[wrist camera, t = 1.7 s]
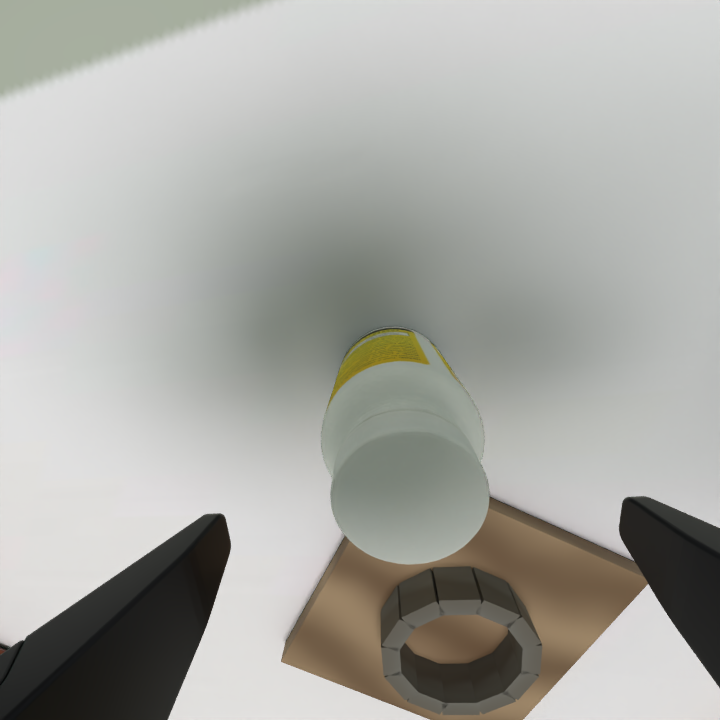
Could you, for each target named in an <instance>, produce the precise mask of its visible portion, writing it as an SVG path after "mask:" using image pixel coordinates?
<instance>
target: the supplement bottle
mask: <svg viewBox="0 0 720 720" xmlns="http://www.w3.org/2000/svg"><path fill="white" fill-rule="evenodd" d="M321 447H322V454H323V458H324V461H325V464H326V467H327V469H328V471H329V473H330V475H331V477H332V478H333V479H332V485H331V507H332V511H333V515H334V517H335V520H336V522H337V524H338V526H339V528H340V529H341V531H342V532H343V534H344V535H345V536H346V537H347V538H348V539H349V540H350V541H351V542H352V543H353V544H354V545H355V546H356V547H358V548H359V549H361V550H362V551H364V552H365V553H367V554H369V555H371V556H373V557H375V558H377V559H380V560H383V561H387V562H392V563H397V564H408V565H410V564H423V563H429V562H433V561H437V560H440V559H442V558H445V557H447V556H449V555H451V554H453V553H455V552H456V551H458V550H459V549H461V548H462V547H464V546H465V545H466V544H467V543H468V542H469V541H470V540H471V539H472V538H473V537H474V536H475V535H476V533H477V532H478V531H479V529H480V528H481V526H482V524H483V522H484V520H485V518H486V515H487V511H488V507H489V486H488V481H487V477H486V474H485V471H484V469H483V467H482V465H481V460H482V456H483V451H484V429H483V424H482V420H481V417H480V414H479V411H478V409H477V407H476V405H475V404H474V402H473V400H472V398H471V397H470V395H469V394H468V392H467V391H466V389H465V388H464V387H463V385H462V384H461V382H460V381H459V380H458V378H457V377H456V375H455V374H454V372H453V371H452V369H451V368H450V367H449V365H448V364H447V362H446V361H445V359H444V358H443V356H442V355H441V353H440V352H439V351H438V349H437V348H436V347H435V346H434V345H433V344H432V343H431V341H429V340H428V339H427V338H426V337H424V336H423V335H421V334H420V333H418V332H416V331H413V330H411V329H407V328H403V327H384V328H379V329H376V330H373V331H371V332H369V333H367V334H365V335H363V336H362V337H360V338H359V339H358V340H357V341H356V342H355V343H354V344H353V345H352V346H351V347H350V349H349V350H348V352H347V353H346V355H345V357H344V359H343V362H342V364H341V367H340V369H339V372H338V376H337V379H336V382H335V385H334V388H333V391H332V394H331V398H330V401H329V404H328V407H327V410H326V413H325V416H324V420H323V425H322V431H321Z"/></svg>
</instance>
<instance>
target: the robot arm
mask: <svg viewBox="0 0 720 720" xmlns="http://www.w3.org/2000/svg"><path fill="white" fill-rule="evenodd" d="M619 532H620V536H621V539H622V541H623V543H624V544H625V546H626V548H627V549H628V551H629V553H630V554H631V556H632V558H633V559H634V561H635V562H636V564H637V566H638V567H639V569H640V571H641V572H642V574H643V576H644V577H645V579H646V581H647V582H648V584H649V586H650V587H651V589H652V591H653V592H654V594H655V596H656V597H657V599H658V601H659V602H660V604H661V605H662V607H663V608H664V610H665V612H666V613H667V615H668V616H669V618H670V619H671V621H672V622H673V624H674V625H675V626H676V628H677V629H678V631H679V632H680V634H681V635H682V636H683V638H684V639H685V640H686V642H687V643H688V645H689V646H690V647H691V649H692V650H693V652H694V653H695V654H696V656H697V657H698V659H699V660H700V661H701V663H702V664H703V665H704V667H705V668H706V670H707V671H708V672H709V674H710V675H711V677H712V678H713V679H714V681H715V682H716V683H717V685H718V686H719V688H720V528H718V527H716V526H713V525H711V524H709V523H707V522H704V521H702V520H700V519H697V518H695V517H693V516H691V515H688V514H686V513H684V512H681V511H679V510H677V509H674V508H672V507H670V506H668V505H665V504H663V503H661V502H658V501H656V500H654V499H651V498H649V497H645V496H639V497H627V498H625V499H624V500H623V503H622V509H621V517H620V524H619ZM230 549H231V541H230V536H229V532H228V528H227V523H226V519H225V516H224V515H223V514H221V513H218V514H205V515H203V516H202V517H200V518H199V519H198V520H196V521H195V522H193V523H192V524H190V525H189V526H187V527H186V528H184V529H183V530H181V531H180V532H179V533H177V534H176V535H174V536H173V537H171V538H170V539H168V540H167V541H165V542H164V543H163V544H161V545H160V546H158V547H157V548H155V549H154V550H152V551H151V552H149V553H148V554H146V555H145V556H144V557H142V558H141V559H139V560H138V561H136V562H135V563H133V564H132V565H130V566H129V567H127V568H126V569H125V570H123V571H122V572H120V573H119V574H117V575H116V576H114V577H113V578H111V579H110V580H109V581H107V582H106V583H104V584H103V585H101V586H100V587H98V588H97V589H95V590H94V591H92V592H91V593H90V594H88V595H87V596H85V597H84V598H82V599H81V600H79V601H78V602H76V603H75V604H73V605H72V606H71V607H69V608H68V609H66V610H65V611H63V612H62V613H60V614H59V615H57V616H56V617H55V618H53V619H52V620H50V621H49V622H47V623H46V624H44V625H43V626H41V627H40V628H38V629H37V630H36V631H34V632H33V633H31V634H30V635H28V636H27V637H26V639H25V641H23V640H22V641H19V642H18V643H16V644H15V645H14V646H12V647H11V648H9V649H8V650H6V651H5V652H3V653H2V654H1V655H0V720H168V717H169V715H170V713H171V710H172V708H173V705H174V703H175V701H176V698H177V696H178V693H179V691H180V689H181V686H182V684H183V681H184V679H185V677H186V674H187V672H188V669H189V667H190V665H191V662H192V660H193V657H194V655H195V653H196V650H197V648H198V646H199V643H200V641H201V638H202V636H203V633H204V631H205V628H206V626H207V623H208V620H209V617H210V614H211V611H212V608H213V605H214V602H215V598H216V595H217V592H218V589H219V586H220V583H221V579H222V576H223V573H224V570H225V567H226V564H227V560H228V557H229V554H230Z"/></svg>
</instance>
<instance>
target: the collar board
mask: <svg viewBox="0 0 720 720" xmlns="http://www.w3.org/2000/svg"><path fill="white" fill-rule="evenodd" d="M647 584H648V582H647V581H646V579H645V577H644V576H643V574H642V572H641V571H640V569H639V567H638V566H637V564H636V562H634V561H631V560H629V559H627V558H625V557H622V556H620V555H618V554H616V553H614V552H611V551H609V550H607V549H605V548H602V547H600V546H598V545H596V544H593V543H591V542H589V541H587V540H584V539H582V538H580V537H578V536H576V535H573V534H571V533H569V532H567V531H564V530H562V529H560V528H558V527H555V526H553V525H551V524H549V523H546V522H544V521H542V520H540V519H537V518H535V517H533V516H531V515H529V514H526V513H524V512H522V511H520V510H517V509H515V508H513V507H511V506H508V505H506V504H504V503H502V502H499V501H497V500H495V499H493V498H491V497H489V507H488V511H487V515H486V518H485V520H484V522H483V524H482V526H481V528H480V529H479V531H478V532H477V533H476V535H475V536H474V537H473V538H472V539H471V540H470V541H469V542H468V543H467V544H466V545H465V546H464V547H462V548H461V549H459V550H458V551H456V552H455V553H453V554H451V555H449V556H447V557H445V558H442V559H440V560H437V561H433V562H429V563H423V564H410V565H408V564H397V563H392V562H387V561H383V560H380V559H377V558H375V557H373V556H371V555H369V554H367V553H365V552H364V551H362V550H361V549H359V548H358V547H356V546H355V545H354V544H353V543H352V542H351V541H350V540H349V539H348V538H347V537H346V536H345V538H344V539H343V541H342V543H341V545H340V546H339V548H338V550H337V552H336V554H335V555H334V557H333V559H332V561H331V562H330V564H329V566H328V568H327V570H326V571H325V573H324V575H323V577H322V578H321V580H320V582H319V584H318V586H317V587H316V589H315V591H314V593H313V594H312V596H311V598H310V600H309V601H308V603H307V605H306V607H305V609H304V610H303V612H302V614H301V616H300V617H299V619H298V621H297V623H296V625H295V626H294V628H293V630H292V632H291V633H290V635H289V637H288V639H287V641H286V643H285V647H284V651H283V655H282V659H281V662H283V663H286V664H288V665H291V666H293V667H296V668H299V669H301V670H304V671H306V672H309V673H312V674H314V675H317V676H319V677H322V678H324V679H327V680H330V681H332V682H335V683H337V684H340V685H343V686H345V687H348V688H350V689H353V690H355V691H358V692H361V693H363V694H366V695H368V696H371V697H373V698H376V699H379V700H381V701H384V702H386V703H389V704H392V705H394V706H397V707H399V708H402V709H404V710H407V711H410V712H412V713H415V714H417V715H420V716H423V717H425V718H428V719H430V720H523V719H524V718H525V717H526V716H527V715H528V714H529V713H530V711H531V710H532V709H533V708H534V707H535V706H536V705H537V704H538V703H539V702H540V701H541V699H542V698H543V697H544V696H545V695H546V694H547V693H548V692H549V691H550V690H551V689H552V688H553V686H554V685H555V684H556V683H557V682H558V681H559V680H560V679H561V678H562V677H563V676H564V675H565V673H566V672H567V671H568V670H569V669H570V668H571V667H572V666H573V665H574V664H575V663H576V661H577V660H578V659H579V658H580V657H581V656H582V655H583V654H584V653H585V652H586V651H587V650H588V648H589V647H590V646H591V645H592V644H593V643H594V642H595V641H596V640H597V639H598V638H599V636H600V635H601V634H602V633H603V632H604V631H605V630H606V629H607V628H608V627H609V626H610V625H611V623H612V622H613V621H614V620H615V619H616V618H617V617H618V616H619V615H620V614H621V613H622V611H623V610H624V609H625V608H626V607H627V606H628V605H629V604H630V603H631V602H632V601H633V600H634V598H635V597H636V596H637V595H638V594H639V593H640V592H641V591H642V590H643V589H644V588H645V587H646V585H647Z"/></svg>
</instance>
